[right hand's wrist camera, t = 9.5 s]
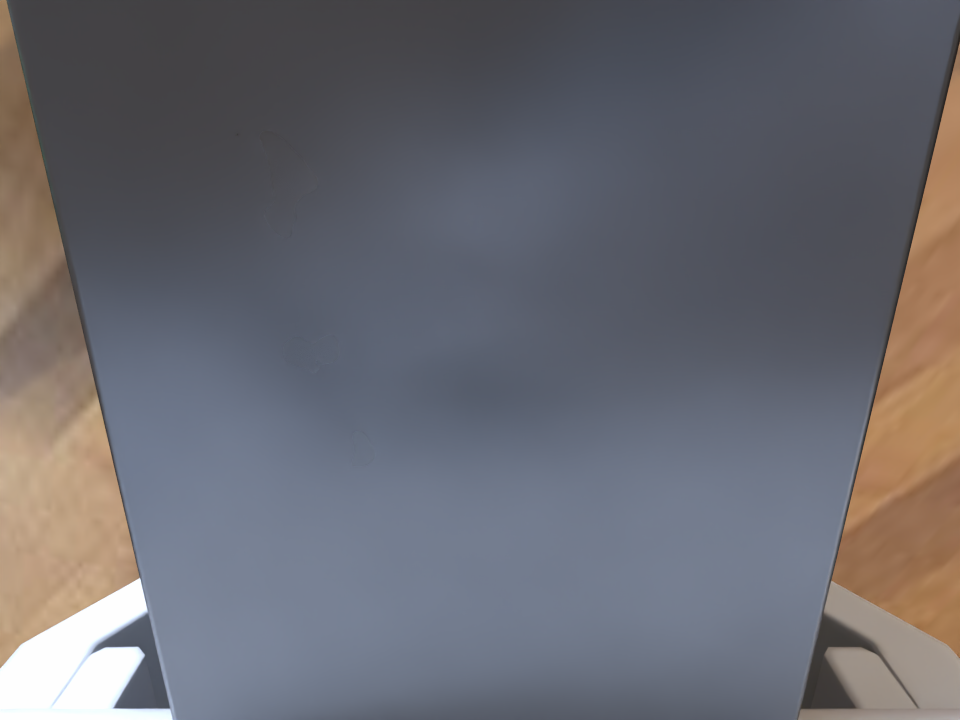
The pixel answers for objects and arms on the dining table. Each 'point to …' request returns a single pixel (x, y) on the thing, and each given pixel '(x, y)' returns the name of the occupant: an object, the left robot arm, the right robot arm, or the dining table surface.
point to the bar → (486, 334)
